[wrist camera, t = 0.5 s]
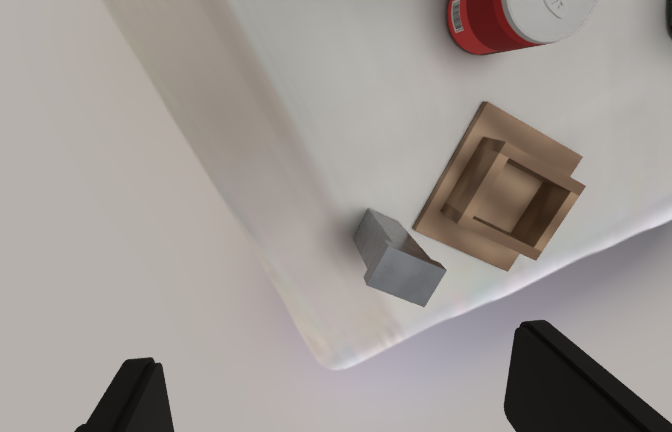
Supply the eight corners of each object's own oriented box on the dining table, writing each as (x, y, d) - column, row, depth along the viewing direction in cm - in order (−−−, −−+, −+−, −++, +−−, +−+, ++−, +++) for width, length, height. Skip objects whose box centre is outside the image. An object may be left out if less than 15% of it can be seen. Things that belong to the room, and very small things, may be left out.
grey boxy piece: (361, 204, 42) (388, 245, 31) (405, 224, 44) (446, 270, 33) (345, 234, 43) (366, 285, 32) (389, 253, 45) (424, 307, 33)
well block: (483, 101, 40) (512, 103, 35) (576, 155, 44) (615, 163, 39) (412, 227, 44) (429, 245, 39) (503, 268, 48) (530, 289, 42)
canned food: (482, 71, 39) (552, 64, 29) (428, 20, 37) (483, -8, 27) (531, 7, 38) (624, -24, 28) (478, -50, 36) (557, -108, 25)
